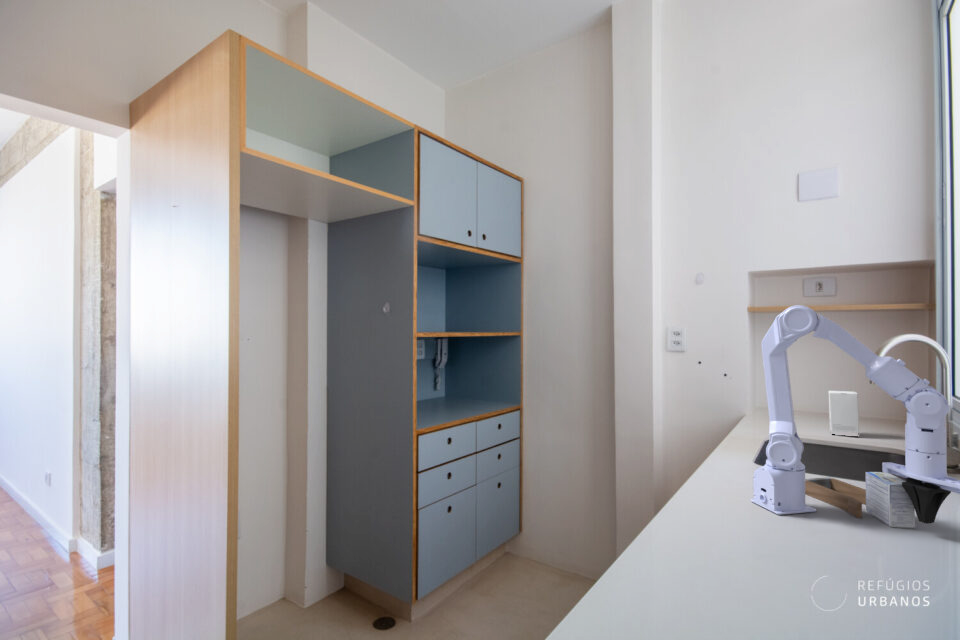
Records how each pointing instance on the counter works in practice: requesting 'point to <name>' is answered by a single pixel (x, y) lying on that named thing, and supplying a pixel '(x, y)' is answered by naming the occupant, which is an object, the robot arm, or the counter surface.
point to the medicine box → (889, 500)
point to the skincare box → (843, 411)
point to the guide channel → (837, 494)
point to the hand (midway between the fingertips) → (926, 521)
